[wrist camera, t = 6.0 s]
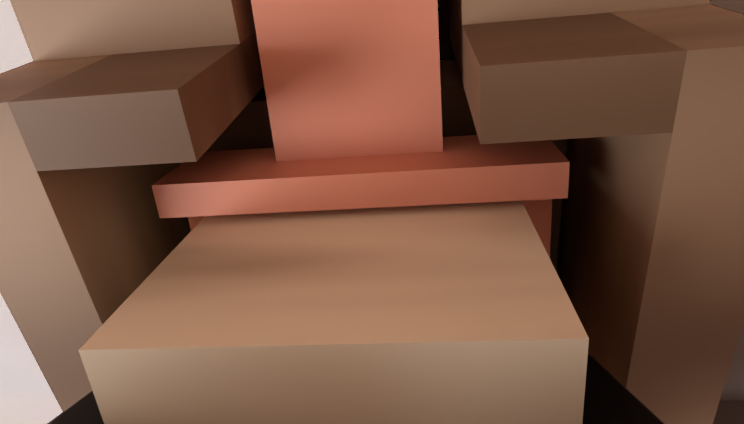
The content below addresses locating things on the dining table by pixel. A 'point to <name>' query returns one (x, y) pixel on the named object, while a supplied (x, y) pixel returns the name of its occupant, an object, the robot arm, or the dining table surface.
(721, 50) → the brown wooden lever base
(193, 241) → the block
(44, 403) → the dining table surface
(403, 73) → the lever
